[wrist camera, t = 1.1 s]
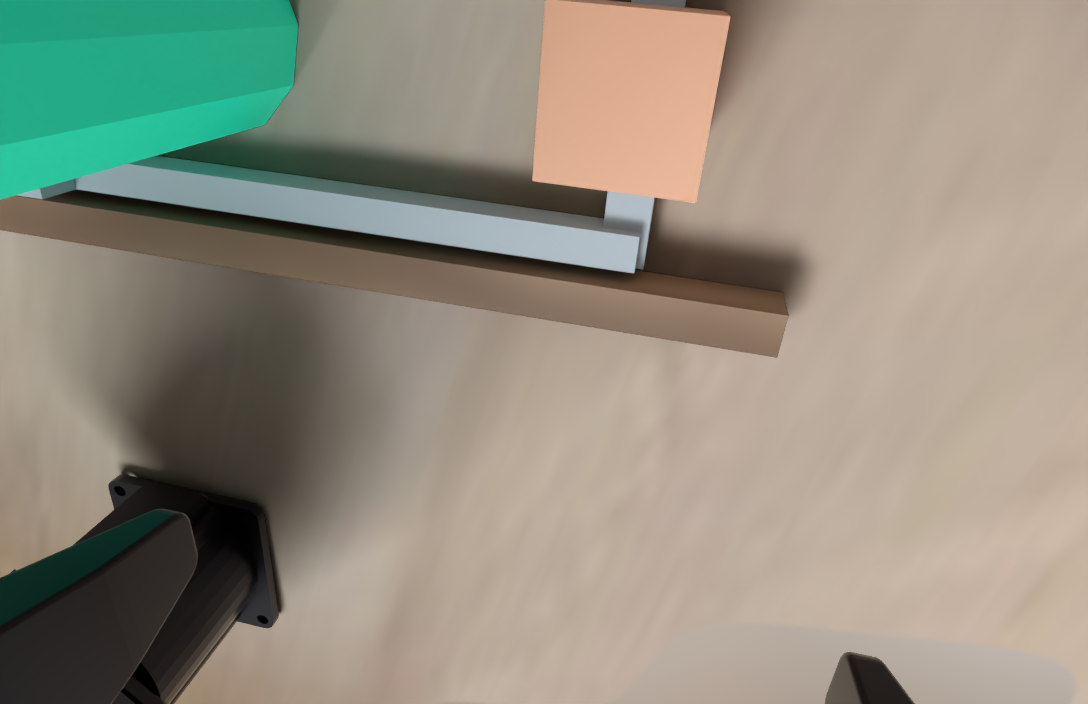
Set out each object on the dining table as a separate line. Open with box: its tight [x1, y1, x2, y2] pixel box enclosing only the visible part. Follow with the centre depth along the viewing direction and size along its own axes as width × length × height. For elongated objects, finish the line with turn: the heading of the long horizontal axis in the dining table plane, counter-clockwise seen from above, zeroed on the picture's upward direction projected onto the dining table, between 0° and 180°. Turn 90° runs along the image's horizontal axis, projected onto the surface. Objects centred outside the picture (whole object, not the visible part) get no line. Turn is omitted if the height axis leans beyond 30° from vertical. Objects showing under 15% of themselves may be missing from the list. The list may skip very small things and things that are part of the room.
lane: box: [0, 189, 788, 357], centre depth 18 cm, size 13×25×2 cm, turn 86°
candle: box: [0, 0, 298, 200], centre depth 14 cm, size 6×6×12 cm
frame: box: [17, 0, 731, 273], centre depth 16 cm, size 10×19×6 cm, turn 86°
